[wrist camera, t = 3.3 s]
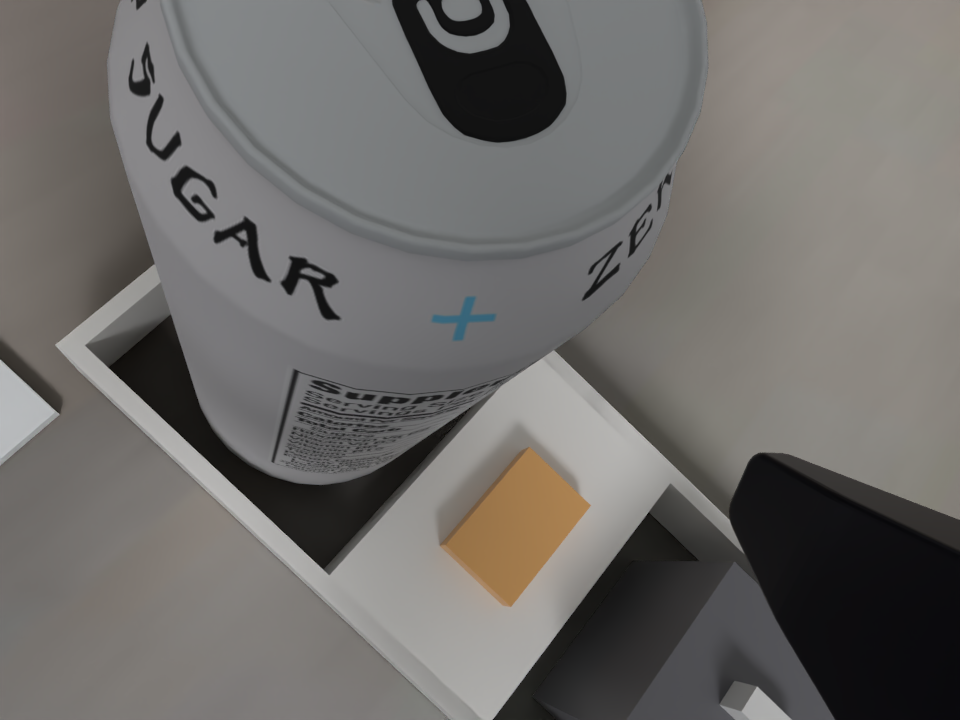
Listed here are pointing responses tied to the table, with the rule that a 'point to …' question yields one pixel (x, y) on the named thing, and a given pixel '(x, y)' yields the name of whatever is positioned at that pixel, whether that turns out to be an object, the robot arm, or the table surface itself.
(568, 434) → the dock strip
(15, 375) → the white square pad
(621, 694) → the black block
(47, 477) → the table surface
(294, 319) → the energy drink can
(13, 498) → the table surface
